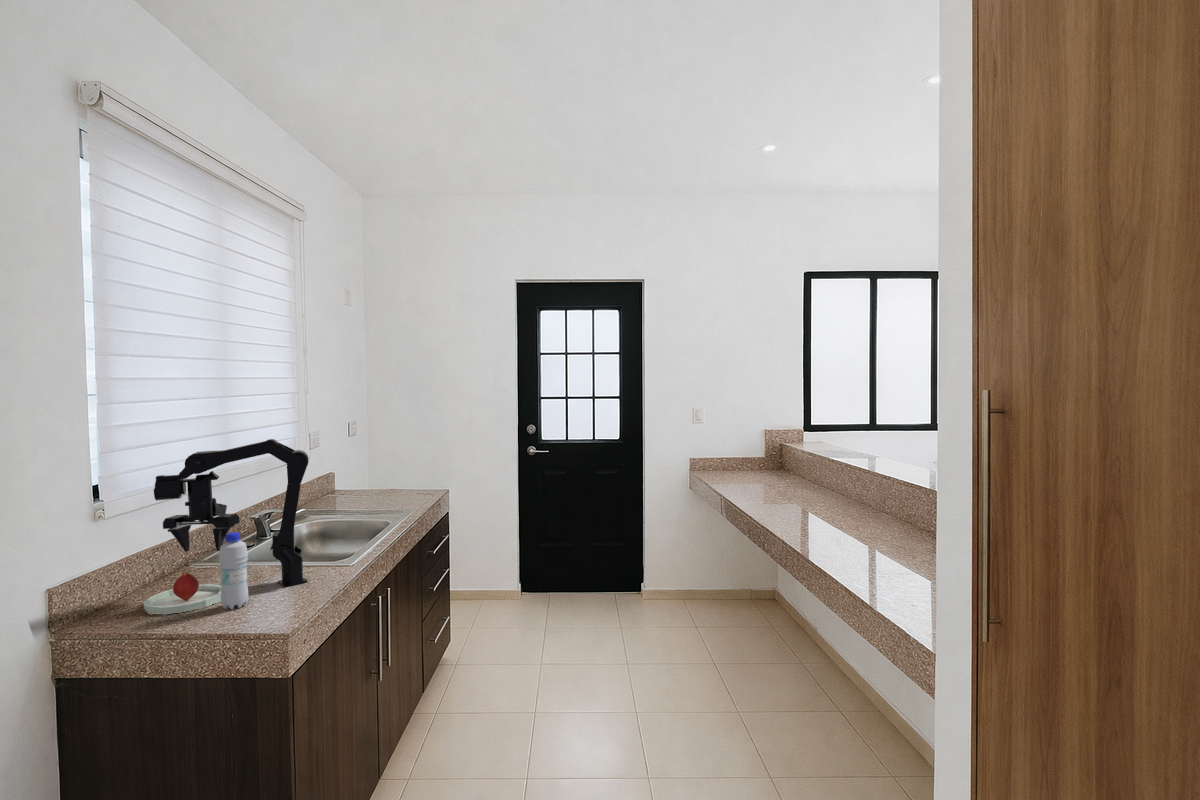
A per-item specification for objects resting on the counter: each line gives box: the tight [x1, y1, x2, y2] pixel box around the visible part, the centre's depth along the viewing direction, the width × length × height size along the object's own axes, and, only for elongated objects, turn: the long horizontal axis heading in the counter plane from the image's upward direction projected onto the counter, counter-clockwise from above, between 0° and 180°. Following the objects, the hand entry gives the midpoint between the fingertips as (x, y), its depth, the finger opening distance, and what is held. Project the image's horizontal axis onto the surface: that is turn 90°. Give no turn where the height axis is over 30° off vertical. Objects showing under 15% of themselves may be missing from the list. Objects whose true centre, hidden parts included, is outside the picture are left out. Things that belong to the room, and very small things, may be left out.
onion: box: [172, 571, 200, 601], centre depth 167 cm, size 6×6×8 cm
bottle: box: [218, 531, 249, 610], centre depth 163 cm, size 7×7×20 cm
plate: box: [143, 583, 222, 614], centre depth 167 cm, size 18×18×2 cm
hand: (203, 551), depth 173 cm, fingers open, 9 cm apart
